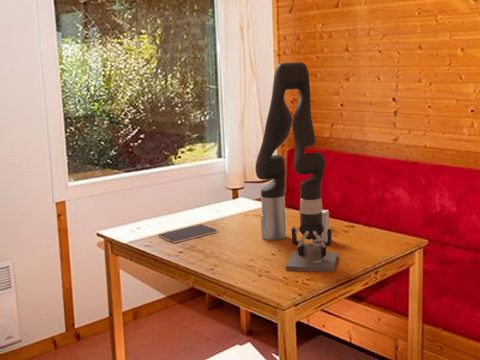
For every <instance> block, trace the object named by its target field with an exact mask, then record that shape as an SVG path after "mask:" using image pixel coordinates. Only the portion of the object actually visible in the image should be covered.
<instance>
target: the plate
mask: <svg viewBox="0 0 480 360" xmlns="http://www.w3.org/2000/svg"><path fill="white" fill-rule="evenodd" d="M338 257H339V256H338V252H337V251H336V252H335V251H334V252H333V251H326V256H324V258H322V260H318V261H313V262H309V261H307V260H305V259H303V256H302V257H300V255H299V254H298V250H293V251H292V253H291V255H290V256H289V259H288V261H287V263H286V265H285V271H291V272H292V271H293V272H294V271H295V272H296V271H298V272H320V273H321V272H323V273H325V272H326V273H328V272H329V273H334V271H335V268H336V265H337V260H338Z"/></svg>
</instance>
